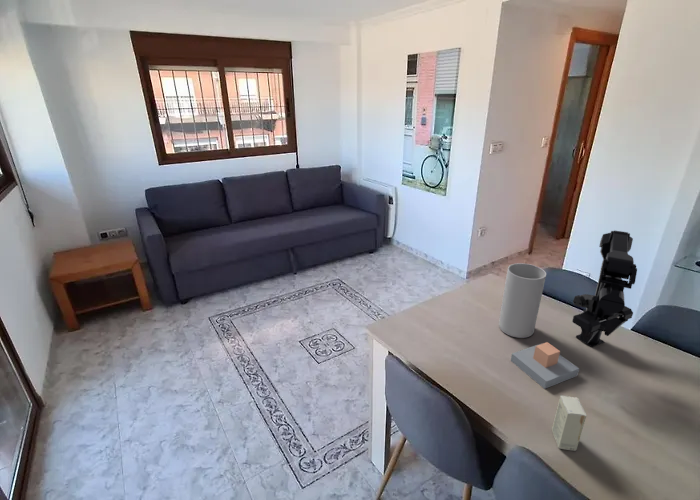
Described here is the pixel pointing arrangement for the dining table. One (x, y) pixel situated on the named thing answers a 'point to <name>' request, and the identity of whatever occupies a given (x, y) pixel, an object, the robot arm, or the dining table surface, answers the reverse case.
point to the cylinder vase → (521, 299)
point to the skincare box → (568, 423)
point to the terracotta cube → (546, 354)
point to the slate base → (542, 374)
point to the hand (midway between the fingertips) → (596, 338)
